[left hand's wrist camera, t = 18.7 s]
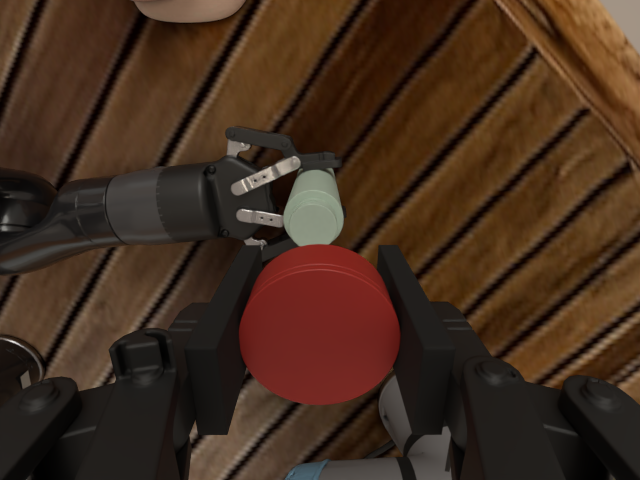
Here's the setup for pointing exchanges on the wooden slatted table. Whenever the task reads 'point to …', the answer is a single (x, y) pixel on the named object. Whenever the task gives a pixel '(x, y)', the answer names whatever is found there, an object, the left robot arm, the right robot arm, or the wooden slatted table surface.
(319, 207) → the pale green slim bottle
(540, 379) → the wooden slatted table surface
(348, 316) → the lid
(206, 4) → the anatomical model
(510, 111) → the wooden slatted table surface
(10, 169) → the right robot arm
